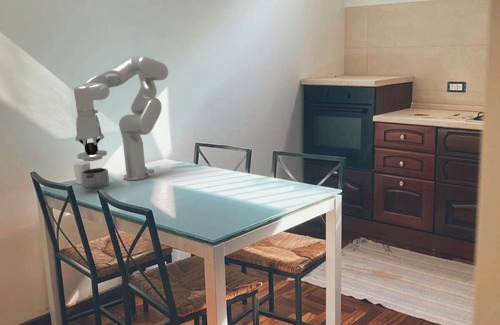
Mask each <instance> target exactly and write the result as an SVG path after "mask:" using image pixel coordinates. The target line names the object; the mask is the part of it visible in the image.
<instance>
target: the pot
mask: <svg viewBox="0 0 500 325" xmlns="http://www.w3.org/2000/svg"><path fill="white" fill-rule="evenodd" d="M81 178H82V184H81V185H82V188H83V189H92V190H93V189H99V188H104V187H107V186H109V185H110V176H109V170H108V168H105V167H95V168H90V169H88V170H85V171H82V172H81Z"/></svg>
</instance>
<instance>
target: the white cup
mask: <svg viewBox="0 0 500 325" xmlns="http://www.w3.org/2000/svg"><path fill="white" fill-rule="evenodd" d="M90 162H91V161H84V160H82V161H75V162H74V163H72V166H73V170H74V171H73V172H74V176H75V181H76V184H77V185H82V178H81V172H82V171H85V170H88V169H91V163H90Z"/></svg>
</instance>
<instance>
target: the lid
mask: <svg viewBox="0 0 500 325" xmlns="http://www.w3.org/2000/svg"><path fill="white" fill-rule="evenodd" d="M87 145H88V151H89V154H87V153H86V152H85V151H84V152H81V153H78V154H77V155H76V156H77V159H78V160H82V161H89V162H94V161H99V160H101V159H103V157H105V156H107V155H108V153H107V151H106V150H103V149H101V150H99V149H98V151H97V153H96V154H95V153H94V149H93V145H94V142H93V141H91V142H87Z"/></svg>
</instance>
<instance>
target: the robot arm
mask: <svg viewBox="0 0 500 325" xmlns="http://www.w3.org/2000/svg"><path fill="white" fill-rule="evenodd" d="M136 75H138V79H139V82H140V88H139V90H138V91H137V94H136V96H135V97H134V99H133V101H132V104H131V107H130V109H131V113H132V114H125V115H123V116H122V117H121V118H120V119H119V122H118V127H119V130H120V134H121V138H122V143H123V153H124V154H123V155H124V165H125V174H124V175H123V177H122V178H123V179H124V181H139V180H145V179H147V178H149V177H150V174H155V169H152V168H151V169H148V167H147V166H146V164H145V163H146V162H145V151H144V142H143V138H142V137H141V136H143V135H144V136H145V135H148V134H150V133H151V132H152V130H153V129H154V126H155V125H156V123H157V121H158V119H159V117H160V115H161V112H162V102H161V100H160V99H159V98H157V97H156V95H157V87H156V83H155V81H163V80H165V79H167V77H168V75H169V69H168V67H167V65H166V64H164V63H163V62H161V61H159V60H156V59H154V58H151V57H147V56H140V55H139V56H138V55H137V56H130V57H129V56H128V58H126V59H124V60H123V61H121V62H120V63H119V64H118V65H116V66H114V67H113V68H111V69H108V70H107V71H104V72H103V73H100V74H97V75H96V76H93V77H92V78H90V79H89V80H87V81H86V82H84V83H83V84H82V85H78V86H75V87H74V88H73V94H74V101H75V106H76V114H77V116H76V120H75V122H76V123H75V128H76V137H75V140H74V141H75V142H78V143H80V144H82V146H84V147H83V148H84V152H86V153H87V154H89V151H88V145H87V143H88V139H92V142H94V145H93V149H94V153H95V154H96V153H97V151H98V150H99V147H98V144H99V143H100V141H101V140H103V139H104V138H105V135H104V134H103V133H102V128H101V124H100V120H99V117H98V115H97V114H98V113H99V111H98V110H97V109H96V108H95V106H94V101H103V100H106V99H107V98H108V97H109V96H110V88H115V87H119V86H122V85H123V84H125V83H127V82H128V81H129V80H131V79H132V78H134V77H135V76H136Z"/></svg>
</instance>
